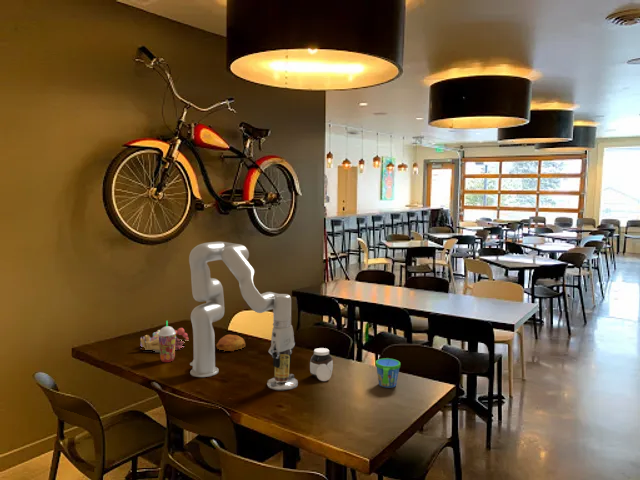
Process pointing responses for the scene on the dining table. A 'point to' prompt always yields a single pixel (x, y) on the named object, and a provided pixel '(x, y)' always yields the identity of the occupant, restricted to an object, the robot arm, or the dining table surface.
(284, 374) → the sauce bottle
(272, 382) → the base
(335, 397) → the dining table surface
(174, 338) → the smoothie
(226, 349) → the bread bun
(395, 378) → the snack cup
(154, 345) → the candy landscape model
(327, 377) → the spread jar
